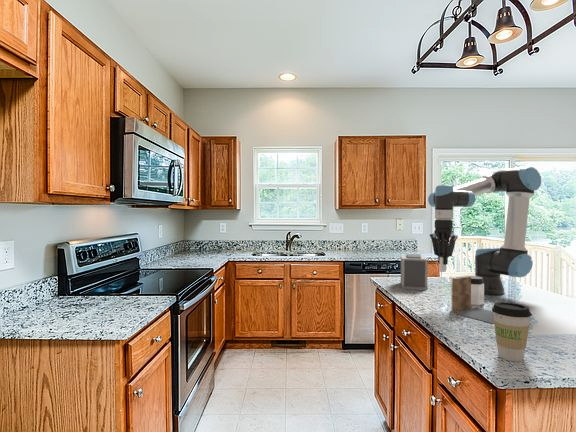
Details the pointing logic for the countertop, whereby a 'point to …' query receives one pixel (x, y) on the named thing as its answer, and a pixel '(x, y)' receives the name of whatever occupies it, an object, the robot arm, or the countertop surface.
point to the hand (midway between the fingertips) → (442, 271)
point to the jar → (477, 290)
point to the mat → (478, 314)
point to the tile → (460, 293)
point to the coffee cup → (511, 329)
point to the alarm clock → (414, 272)
